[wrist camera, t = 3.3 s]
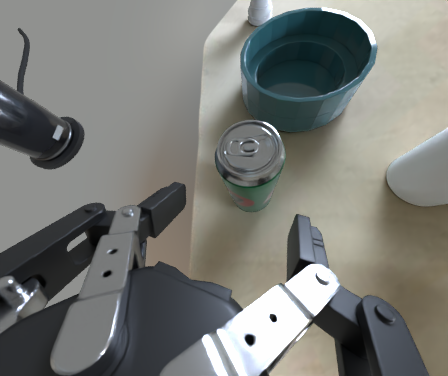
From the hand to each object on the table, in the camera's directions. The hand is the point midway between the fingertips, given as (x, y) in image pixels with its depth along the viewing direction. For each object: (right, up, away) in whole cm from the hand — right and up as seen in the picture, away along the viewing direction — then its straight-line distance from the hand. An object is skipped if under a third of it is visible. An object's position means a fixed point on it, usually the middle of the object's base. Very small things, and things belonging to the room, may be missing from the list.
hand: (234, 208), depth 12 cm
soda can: (+3, +1, +11) cm, 11 cm away
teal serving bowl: (+10, +16, +14) cm, 24 cm away
